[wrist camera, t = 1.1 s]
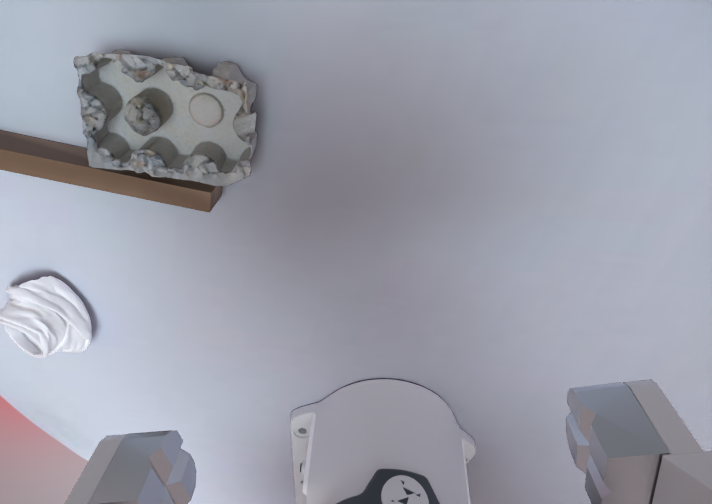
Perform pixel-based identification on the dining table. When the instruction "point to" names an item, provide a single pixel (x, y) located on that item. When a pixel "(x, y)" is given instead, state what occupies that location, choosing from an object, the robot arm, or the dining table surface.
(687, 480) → the robot arm
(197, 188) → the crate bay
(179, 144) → the egg carton
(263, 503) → the dining table surface
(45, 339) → the white crumpled cloth
